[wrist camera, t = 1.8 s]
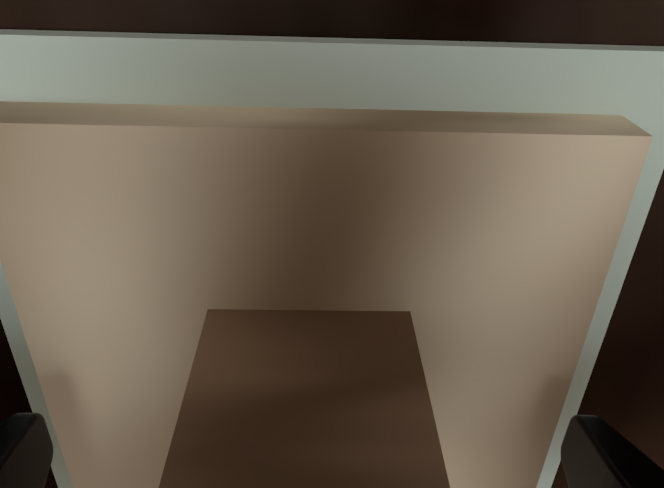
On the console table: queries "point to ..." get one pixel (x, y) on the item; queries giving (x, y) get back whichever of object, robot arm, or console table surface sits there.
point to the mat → (347, 93)
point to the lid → (308, 287)
